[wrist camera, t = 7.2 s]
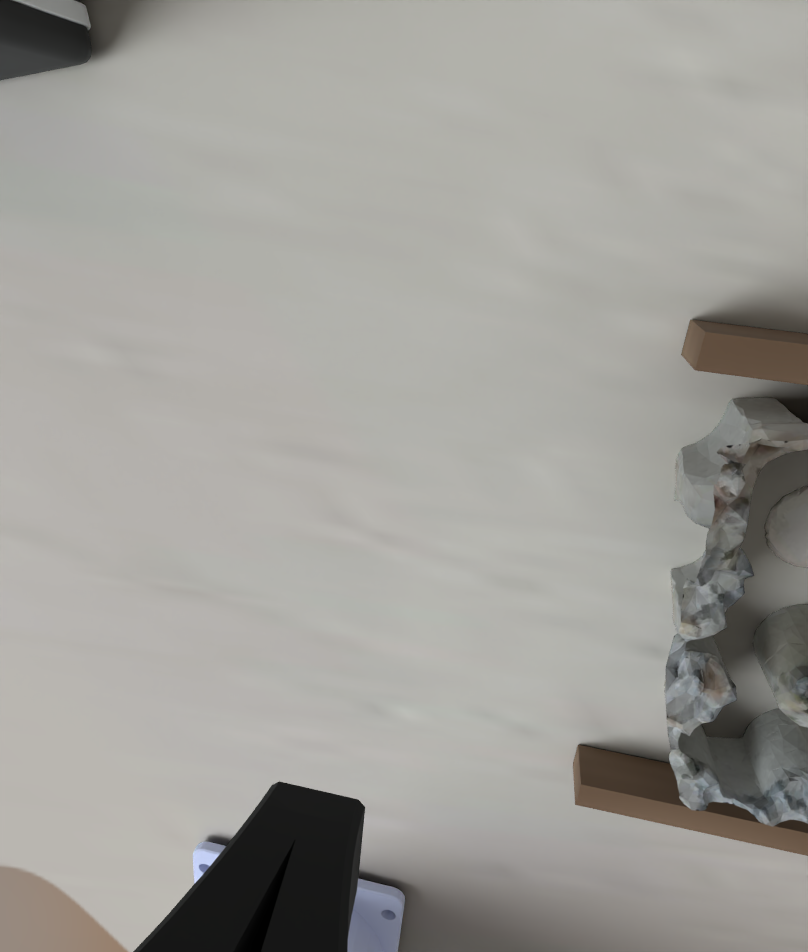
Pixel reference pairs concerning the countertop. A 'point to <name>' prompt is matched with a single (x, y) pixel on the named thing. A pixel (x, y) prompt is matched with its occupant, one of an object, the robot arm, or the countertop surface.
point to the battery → (42, 36)
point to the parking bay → (654, 783)
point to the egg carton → (703, 614)
